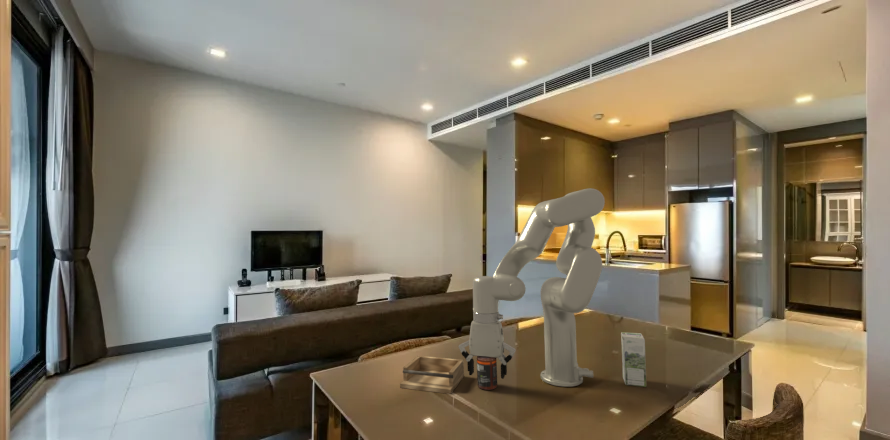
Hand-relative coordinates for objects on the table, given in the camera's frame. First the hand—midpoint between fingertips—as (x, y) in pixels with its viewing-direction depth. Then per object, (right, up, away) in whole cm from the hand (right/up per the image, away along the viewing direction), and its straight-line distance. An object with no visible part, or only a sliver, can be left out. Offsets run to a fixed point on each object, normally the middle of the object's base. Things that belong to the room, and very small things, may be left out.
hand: (487, 375), depth 109 cm
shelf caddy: (-16, -4, +4) cm, 17 cm away
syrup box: (+45, -3, +1) cm, 45 cm away
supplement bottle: (0, -3, 0) cm, 3 cm away
